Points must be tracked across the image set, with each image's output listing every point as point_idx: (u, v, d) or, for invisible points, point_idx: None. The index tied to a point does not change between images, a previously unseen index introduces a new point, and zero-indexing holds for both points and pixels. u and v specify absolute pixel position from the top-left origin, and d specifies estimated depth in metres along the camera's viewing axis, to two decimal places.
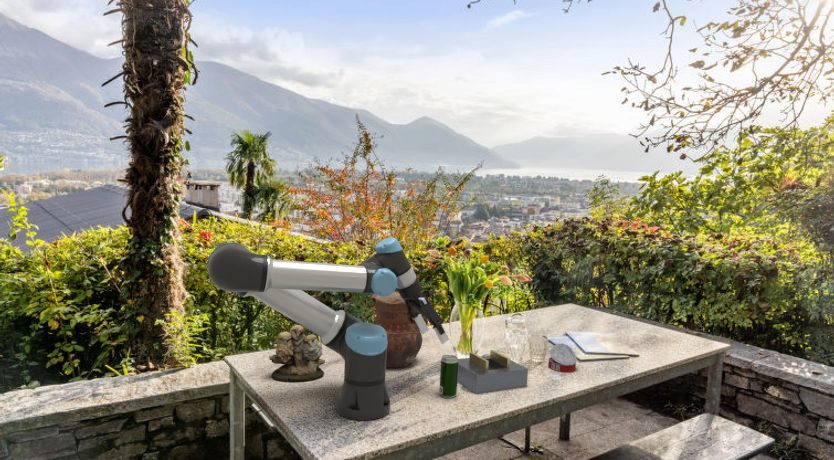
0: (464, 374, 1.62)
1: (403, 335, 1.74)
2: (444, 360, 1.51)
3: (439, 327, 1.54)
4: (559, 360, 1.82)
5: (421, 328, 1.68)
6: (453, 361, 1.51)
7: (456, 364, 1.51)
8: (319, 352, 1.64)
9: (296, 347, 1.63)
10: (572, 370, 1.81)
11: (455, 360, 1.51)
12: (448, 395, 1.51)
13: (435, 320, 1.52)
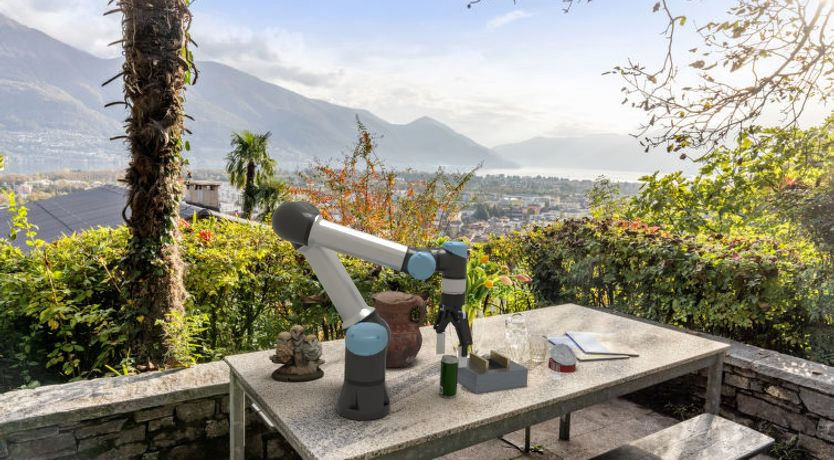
0: (464, 374, 1.62)
1: (403, 335, 1.74)
2: (444, 360, 1.51)
3: (465, 348, 1.45)
4: (559, 360, 1.82)
5: (438, 347, 1.58)
6: (453, 361, 1.51)
7: (456, 364, 1.51)
8: (319, 352, 1.64)
9: (296, 347, 1.63)
10: (572, 370, 1.81)
11: (455, 360, 1.51)
12: (448, 395, 1.51)
13: (466, 338, 1.43)
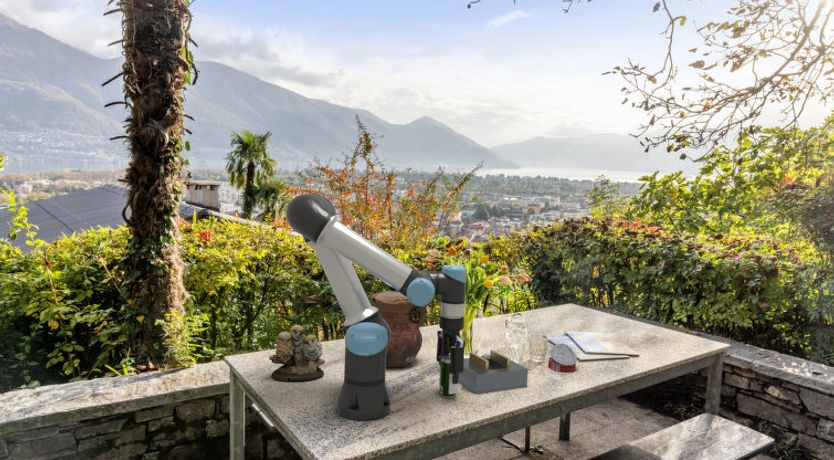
0: (464, 374, 1.62)
1: (403, 335, 1.74)
2: (444, 360, 1.51)
3: (456, 375, 1.49)
4: (559, 360, 1.82)
5: None
6: None
7: None
8: (319, 352, 1.64)
9: (296, 347, 1.63)
10: (572, 370, 1.81)
11: None
12: (448, 395, 1.51)
13: (458, 367, 1.47)
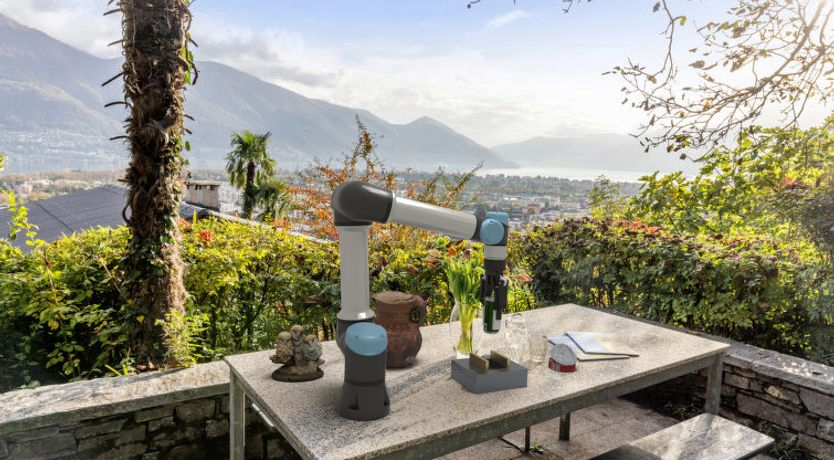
0: (464, 374, 1.62)
1: (403, 335, 1.74)
2: (488, 299, 1.64)
3: (499, 312, 1.62)
4: (559, 360, 1.82)
5: None
6: None
7: None
8: (319, 352, 1.64)
9: (296, 347, 1.63)
10: (572, 370, 1.81)
11: None
12: (492, 331, 1.63)
13: (502, 303, 1.60)
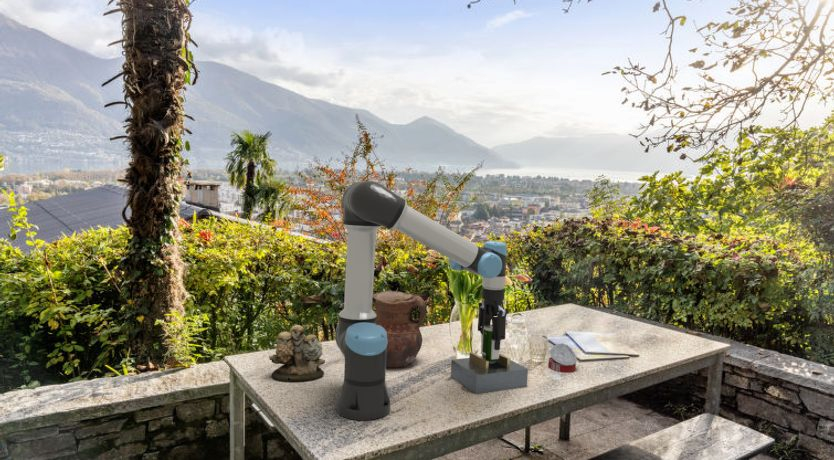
0: (464, 374, 1.62)
1: (403, 335, 1.74)
2: (487, 328, 1.64)
3: (498, 342, 1.62)
4: (559, 360, 1.82)
5: None
6: None
7: None
8: (319, 352, 1.64)
9: (296, 347, 1.63)
10: (572, 370, 1.81)
11: None
12: (490, 360, 1.64)
13: (500, 334, 1.60)
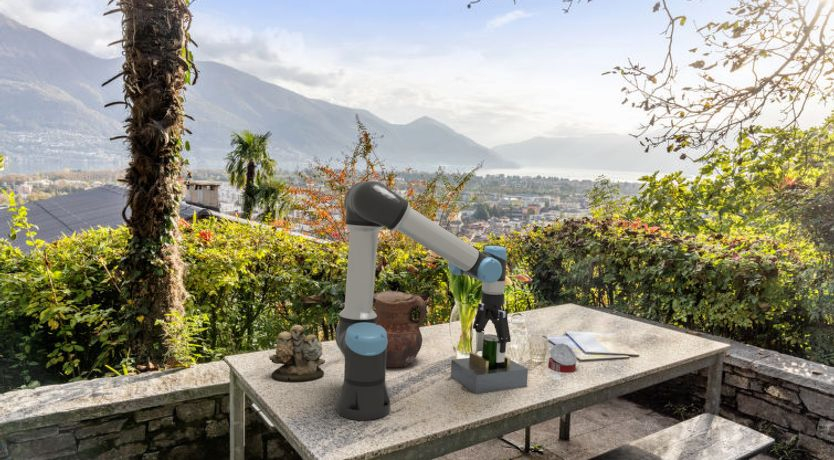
0: (464, 374, 1.62)
1: (403, 335, 1.74)
2: (487, 338, 1.65)
3: (503, 345, 1.59)
4: (559, 360, 1.82)
5: (478, 345, 1.71)
6: (495, 339, 1.64)
7: None
8: (319, 352, 1.64)
9: (296, 347, 1.63)
10: (572, 370, 1.81)
11: (497, 338, 1.65)
12: None
13: (505, 336, 1.58)
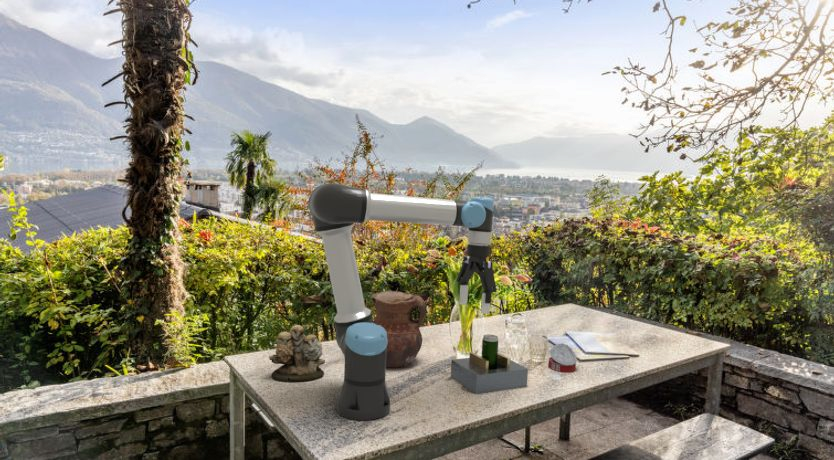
0: (464, 374, 1.62)
1: (403, 335, 1.74)
2: (486, 339, 1.64)
3: (489, 295, 1.55)
4: (559, 360, 1.82)
5: (461, 298, 1.68)
6: (494, 339, 1.64)
7: (497, 342, 1.65)
8: (319, 352, 1.64)
9: (296, 347, 1.63)
10: (572, 370, 1.81)
11: (496, 339, 1.65)
12: None
13: (490, 285, 1.54)
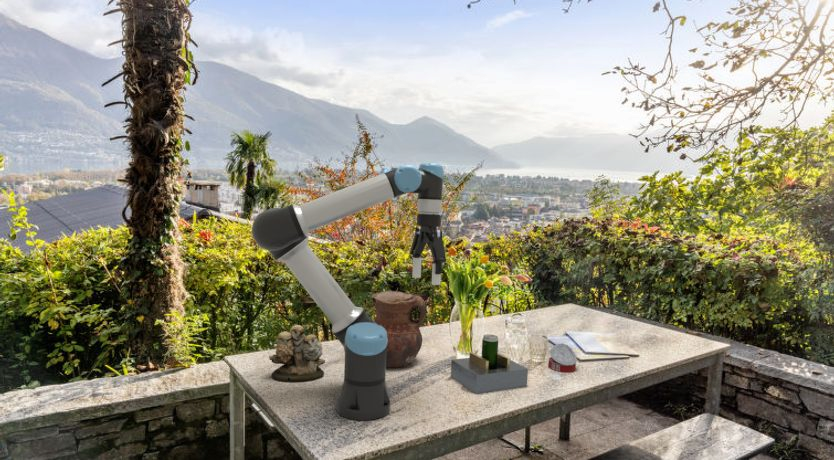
0: (464, 374, 1.62)
1: (403, 335, 1.74)
2: (486, 339, 1.65)
3: (438, 265, 1.47)
4: (559, 360, 1.82)
5: (415, 271, 1.60)
6: (494, 339, 1.64)
7: (497, 342, 1.65)
8: (319, 352, 1.64)
9: (296, 347, 1.63)
10: (572, 370, 1.81)
11: (496, 339, 1.65)
12: None
13: (439, 255, 1.46)
